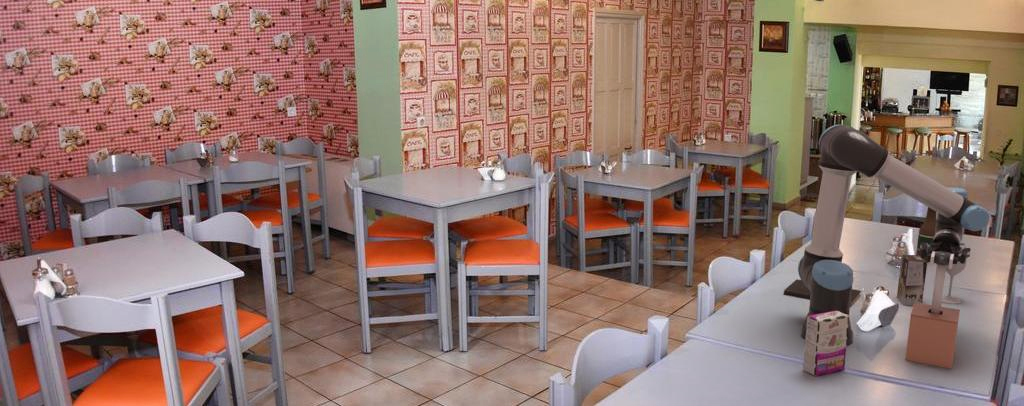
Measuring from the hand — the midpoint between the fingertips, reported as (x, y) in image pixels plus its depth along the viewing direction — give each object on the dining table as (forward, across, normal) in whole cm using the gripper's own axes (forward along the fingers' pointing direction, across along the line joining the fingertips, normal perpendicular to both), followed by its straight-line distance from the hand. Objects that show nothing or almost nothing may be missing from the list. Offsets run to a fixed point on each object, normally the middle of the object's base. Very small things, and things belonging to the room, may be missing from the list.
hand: (941, 262), depth 225 cm
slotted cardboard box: (-5, 0, -30) cm, 31 cm away
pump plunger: (-4, 0, -20) cm, 20 cm away
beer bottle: (-119, +9, -30) cm, 123 cm away
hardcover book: (-48, +38, -31) cm, 68 cm away
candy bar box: (+21, +25, -30) cm, 45 cm away
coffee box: (-57, +10, -30) cm, 65 cm away
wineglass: (-66, -2, -30) cm, 72 cm away
